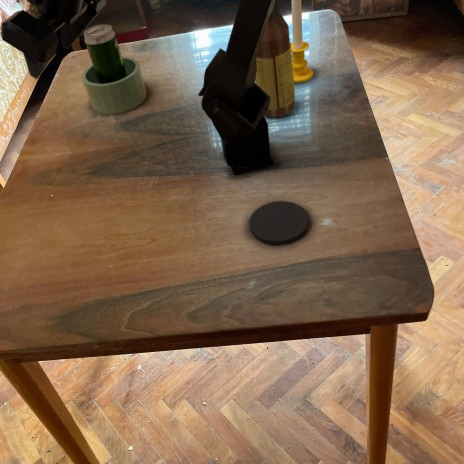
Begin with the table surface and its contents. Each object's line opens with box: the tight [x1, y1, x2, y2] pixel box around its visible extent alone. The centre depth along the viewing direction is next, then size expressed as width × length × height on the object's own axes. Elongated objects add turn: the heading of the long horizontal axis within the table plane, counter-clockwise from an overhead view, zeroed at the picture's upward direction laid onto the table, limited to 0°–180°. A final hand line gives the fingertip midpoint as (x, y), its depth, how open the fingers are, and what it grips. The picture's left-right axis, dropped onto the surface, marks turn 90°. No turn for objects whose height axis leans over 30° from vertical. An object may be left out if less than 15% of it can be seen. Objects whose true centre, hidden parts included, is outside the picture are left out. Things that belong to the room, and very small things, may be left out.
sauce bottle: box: [255, 0, 296, 118], centre depth 81 cm, size 7×6×20 cm
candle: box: [290, 0, 314, 84], centre depth 89 cm, size 5×5×16 cm
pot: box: [81, 55, 148, 115], centre depth 96 cm, size 11×11×6 cm
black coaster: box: [249, 200, 310, 246], centre depth 71 cm, size 8×8×1 cm
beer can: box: [83, 24, 127, 84], centre depth 94 cm, size 5×5×12 cm
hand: (50, 61), depth 79 cm, fingers open, 9 cm apart
